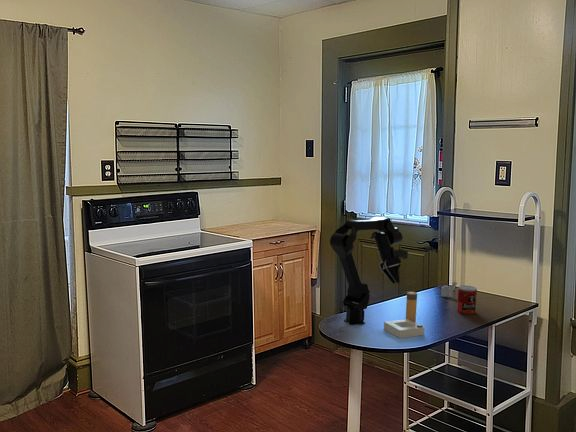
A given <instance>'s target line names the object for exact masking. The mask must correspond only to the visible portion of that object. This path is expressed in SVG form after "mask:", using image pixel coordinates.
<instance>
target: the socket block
mask: <svg viewBox="0 0 576 432" xmlns="http://www.w3.org/2000/svg"><path fill="white" fill-rule="evenodd" d="M383 330H384V331H386V332H388V333H390V334H392V335H393V336H395V337H397V338H398V339H405V338H410V337H411V338H412V337H419V336H420V335H421V336H424V335H425V330H426V329H425V326H424V325H423V324H419V323H417V322H416V323H415V322H413V321H411V320H409V319H406V318H404V319H398V320H388V321H384V322H383Z"/></svg>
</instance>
